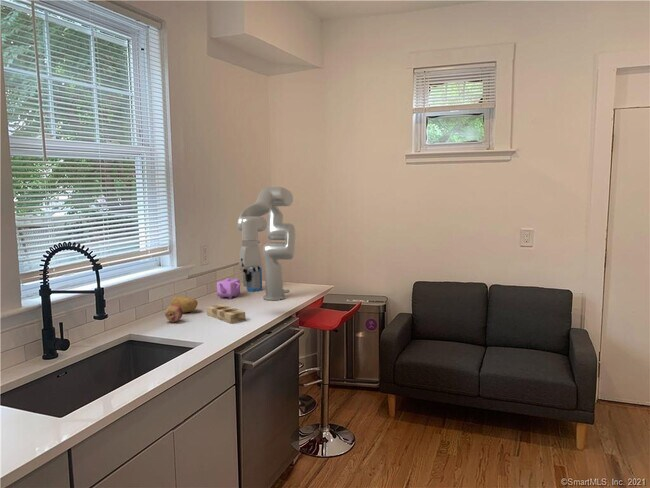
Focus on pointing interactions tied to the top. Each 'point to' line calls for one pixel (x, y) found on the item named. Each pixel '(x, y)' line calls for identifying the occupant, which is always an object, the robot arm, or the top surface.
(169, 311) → the fruit
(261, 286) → the water bottle
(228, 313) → the wooden block with holes
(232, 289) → the teapot
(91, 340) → the top surface
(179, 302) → the potato
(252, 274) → the gray pronged block
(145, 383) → the top surface
